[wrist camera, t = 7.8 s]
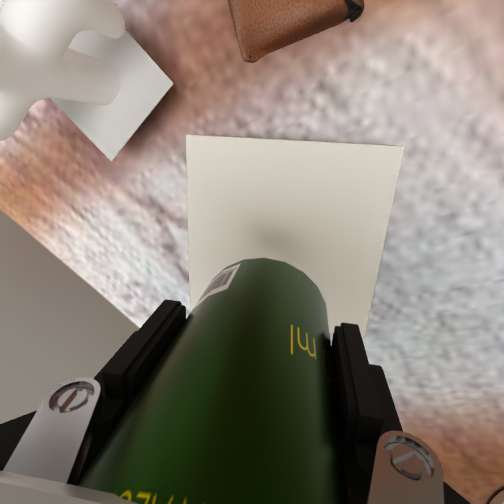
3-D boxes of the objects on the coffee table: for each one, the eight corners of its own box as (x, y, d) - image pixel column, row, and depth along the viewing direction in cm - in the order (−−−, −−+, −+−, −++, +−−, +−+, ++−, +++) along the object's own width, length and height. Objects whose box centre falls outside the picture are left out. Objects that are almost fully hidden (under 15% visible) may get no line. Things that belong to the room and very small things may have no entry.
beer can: (186, 311, 15) (-165, 827, 4) (252, 226, 13) (-87, 791, 2) (276, 375, 15) (198, 1003, 4) (353, 302, 13) (587, 1135, 2)
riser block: (356, 310, 28) (364, 337, 24) (204, 292, 30) (190, 314, 26) (388, 145, 23) (404, 146, 19) (204, 134, 25) (185, 134, 21)
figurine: (202, 79, 23) (48, -4, 9) (128, 167, 27) (-65, 200, 13) (131, -2, 22) (-160, -231, 8) (64, 99, 26) (-225, 56, 12)
